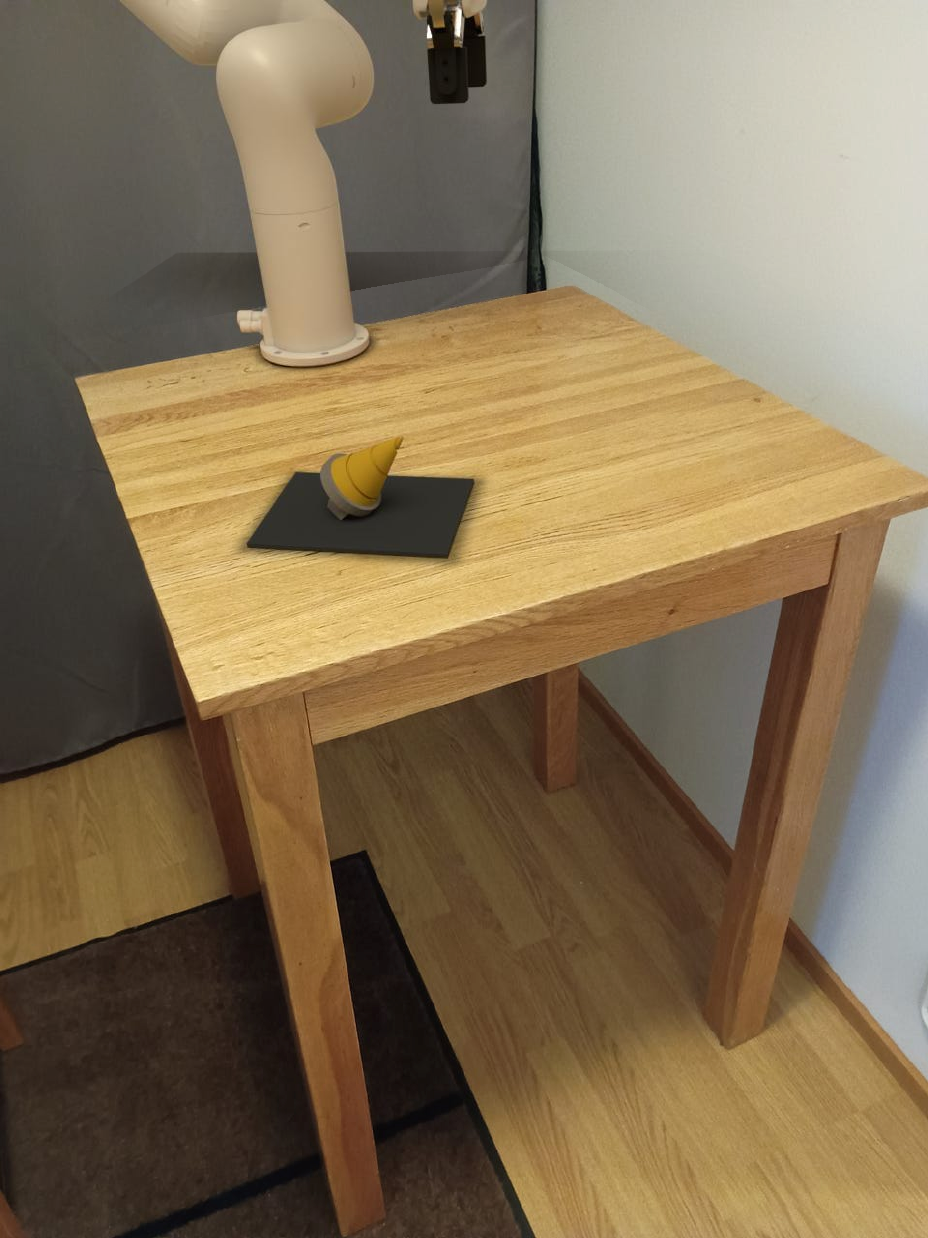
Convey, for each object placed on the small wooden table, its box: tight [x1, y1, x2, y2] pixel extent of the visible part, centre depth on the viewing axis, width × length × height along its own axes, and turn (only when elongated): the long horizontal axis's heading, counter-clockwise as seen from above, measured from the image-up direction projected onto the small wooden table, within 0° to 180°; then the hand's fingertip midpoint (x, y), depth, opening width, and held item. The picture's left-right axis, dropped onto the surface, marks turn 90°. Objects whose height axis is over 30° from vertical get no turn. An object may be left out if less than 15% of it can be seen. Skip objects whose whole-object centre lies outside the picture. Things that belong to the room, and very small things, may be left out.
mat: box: [246, 471, 475, 559], centre depth 76 cm, size 16×12×1 cm
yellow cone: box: [319, 435, 405, 520], centre depth 73 cm, size 5×5×10 cm
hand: (460, 94), depth 82 cm, fingers open, 9 cm apart
